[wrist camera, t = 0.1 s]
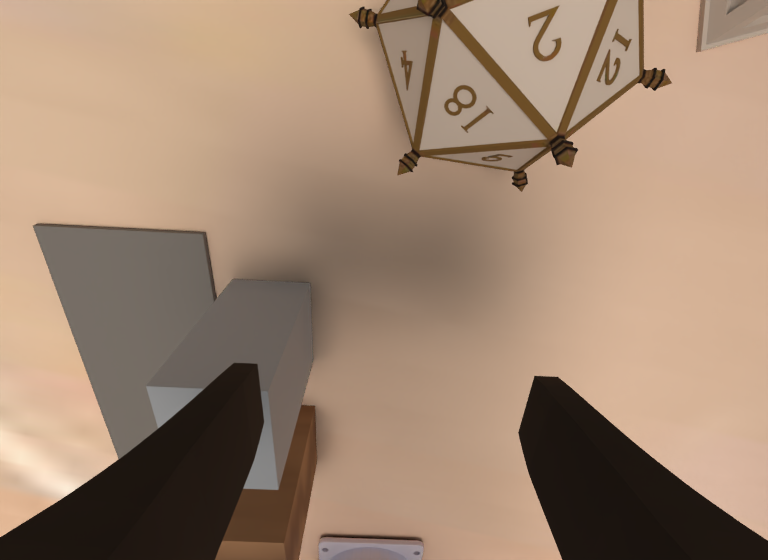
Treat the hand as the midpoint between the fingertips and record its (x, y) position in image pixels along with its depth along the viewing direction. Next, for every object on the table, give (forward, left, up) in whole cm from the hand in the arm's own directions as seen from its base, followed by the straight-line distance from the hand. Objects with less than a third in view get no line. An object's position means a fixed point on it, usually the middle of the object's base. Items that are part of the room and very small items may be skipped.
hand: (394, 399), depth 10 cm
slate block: (-4, +6, -10) cm, 13 cm away
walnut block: (-13, +6, -10) cm, 17 cm away
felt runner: (-8, +13, -10) cm, 18 cm away
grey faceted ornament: (+9, -3, -10) cm, 14 cm away
